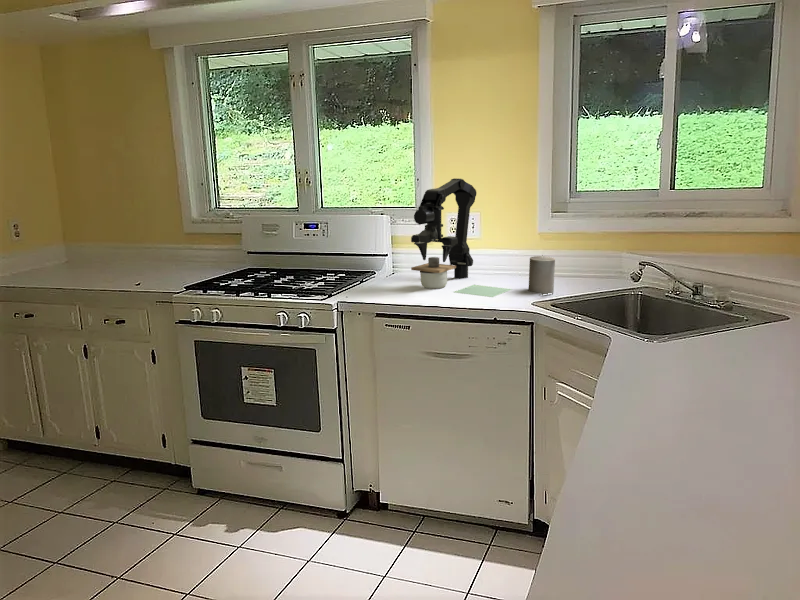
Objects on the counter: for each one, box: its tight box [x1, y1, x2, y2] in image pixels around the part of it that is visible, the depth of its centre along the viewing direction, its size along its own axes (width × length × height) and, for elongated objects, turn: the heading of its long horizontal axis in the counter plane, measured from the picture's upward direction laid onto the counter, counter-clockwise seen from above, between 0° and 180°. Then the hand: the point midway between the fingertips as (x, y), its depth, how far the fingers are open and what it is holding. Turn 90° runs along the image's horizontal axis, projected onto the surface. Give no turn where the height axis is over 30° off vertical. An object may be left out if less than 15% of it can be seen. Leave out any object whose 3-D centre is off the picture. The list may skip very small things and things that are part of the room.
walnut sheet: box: [411, 256, 456, 273], centre depth 275 cm, size 13×13×4 cm
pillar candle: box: [527, 254, 556, 294], centre depth 265 cm, size 10×10×15 cm
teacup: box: [419, 271, 448, 290], centre depth 277 cm, size 14×11×8 cm
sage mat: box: [454, 284, 513, 298], centre depth 268 cm, size 17×17×1 cm
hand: (434, 261), depth 275 cm, fingers open, 9 cm apart
